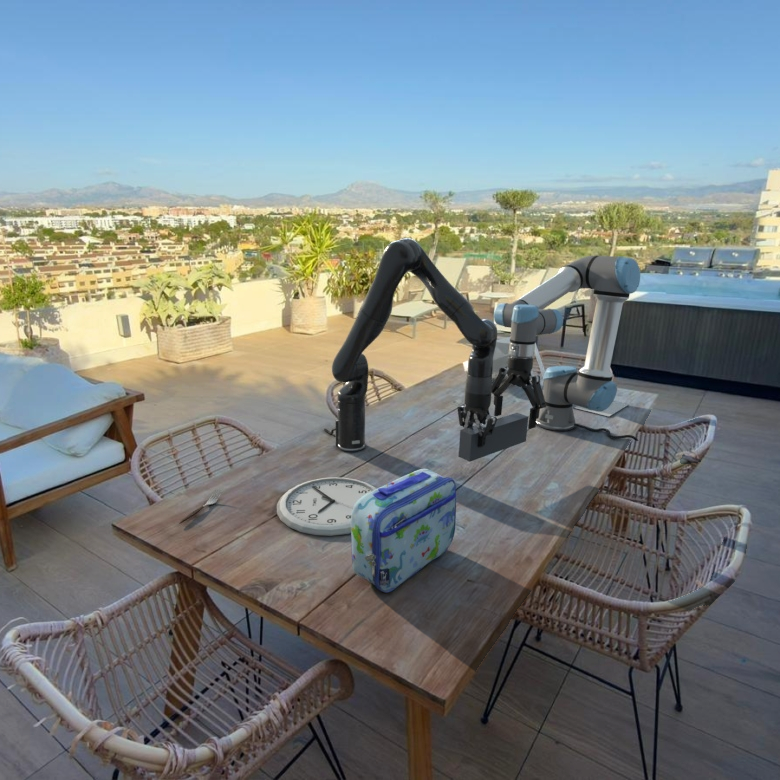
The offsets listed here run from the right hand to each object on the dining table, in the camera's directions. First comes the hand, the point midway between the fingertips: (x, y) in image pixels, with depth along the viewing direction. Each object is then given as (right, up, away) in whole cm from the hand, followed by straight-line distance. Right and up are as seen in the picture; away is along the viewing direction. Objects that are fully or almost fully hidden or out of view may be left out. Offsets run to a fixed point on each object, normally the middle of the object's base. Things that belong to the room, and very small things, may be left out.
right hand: (514, 421), depth 166 cm
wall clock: (-55, -22, -23) cm, 63 cm away
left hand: (-14, -6, -10) cm, 18 cm away
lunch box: (-36, -30, -48) cm, 67 cm away
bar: (-7, -8, -3) cm, 11 cm away
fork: (-90, -22, -27) cm, 96 cm away
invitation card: (+52, +3, +61) cm, 80 cm away
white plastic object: (+16, +13, +93) cm, 95 cm away
